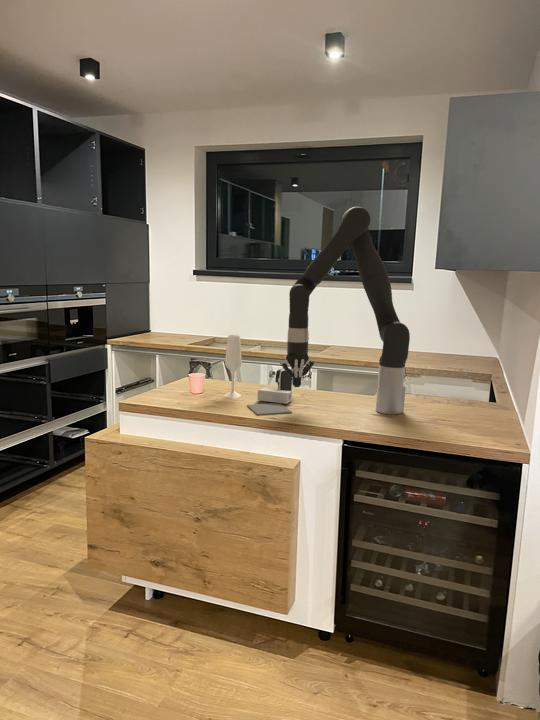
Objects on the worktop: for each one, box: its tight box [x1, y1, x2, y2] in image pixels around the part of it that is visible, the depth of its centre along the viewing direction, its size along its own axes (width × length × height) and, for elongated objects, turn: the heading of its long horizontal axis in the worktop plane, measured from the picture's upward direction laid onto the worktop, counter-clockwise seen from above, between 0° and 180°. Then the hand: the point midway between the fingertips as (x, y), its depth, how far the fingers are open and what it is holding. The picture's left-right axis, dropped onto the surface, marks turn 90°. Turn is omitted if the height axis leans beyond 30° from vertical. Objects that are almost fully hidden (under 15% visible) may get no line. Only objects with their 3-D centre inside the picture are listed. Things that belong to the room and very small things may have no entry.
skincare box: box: [256, 387, 293, 405], centre depth 200 cm, size 6×4×12 cm
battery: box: [275, 368, 293, 391], centre depth 207 cm, size 7×4×11 cm, turn 139°
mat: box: [246, 402, 293, 416], centre depth 189 cm, size 13×12×1 cm
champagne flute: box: [224, 334, 243, 399], centre depth 205 cm, size 7×7×24 cm
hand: (296, 386), depth 191 cm, fingers closed
